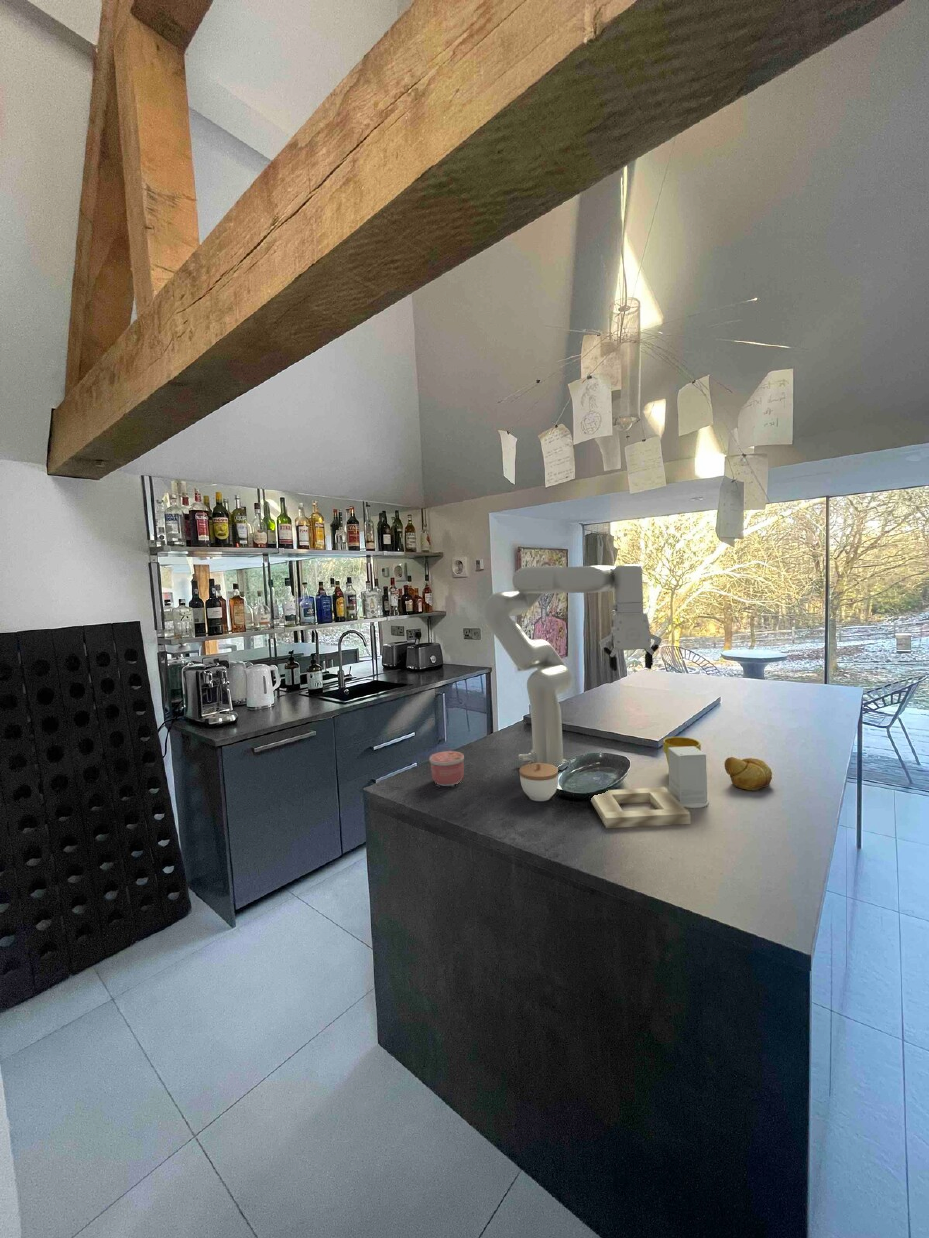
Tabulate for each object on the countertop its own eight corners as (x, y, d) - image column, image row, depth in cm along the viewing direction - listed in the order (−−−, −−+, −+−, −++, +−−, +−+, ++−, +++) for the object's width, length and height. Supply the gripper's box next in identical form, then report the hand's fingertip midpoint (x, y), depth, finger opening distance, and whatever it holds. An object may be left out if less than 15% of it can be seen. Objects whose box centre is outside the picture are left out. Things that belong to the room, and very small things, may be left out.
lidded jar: (561, 789, 147) (559, 757, 146) (557, 806, 136) (556, 771, 136) (523, 787, 149) (522, 756, 149) (517, 803, 139) (516, 769, 138)
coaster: (676, 809, 131) (676, 806, 131) (661, 793, 141) (661, 790, 141) (716, 807, 130) (716, 804, 130) (698, 791, 140) (698, 789, 140)
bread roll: (751, 774, 150) (751, 747, 149) (784, 785, 141) (784, 757, 141) (721, 784, 145) (720, 756, 144) (753, 796, 136) (752, 766, 135)
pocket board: (606, 828, 123) (606, 817, 123) (590, 800, 139) (589, 790, 139) (690, 823, 123) (690, 813, 122) (664, 796, 139) (664, 787, 138)
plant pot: (703, 770, 155) (702, 738, 155) (699, 782, 146) (698, 748, 146) (666, 765, 161) (665, 734, 160) (660, 777, 152) (659, 744, 151)
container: (458, 790, 150) (457, 763, 150) (425, 787, 154) (423, 761, 153) (469, 776, 160) (468, 751, 160) (438, 774, 164) (437, 750, 163)
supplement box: (708, 802, 132) (707, 754, 131) (679, 804, 132) (677, 755, 131) (696, 791, 139) (695, 745, 138) (668, 792, 139) (667, 746, 139)
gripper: (601, 611, 140) (604, 673, 142) (665, 607, 140) (667, 669, 142) (594, 609, 148) (597, 668, 149) (655, 606, 148) (657, 665, 149)
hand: (631, 669), depth 145 cm, fingers open, 9 cm apart
